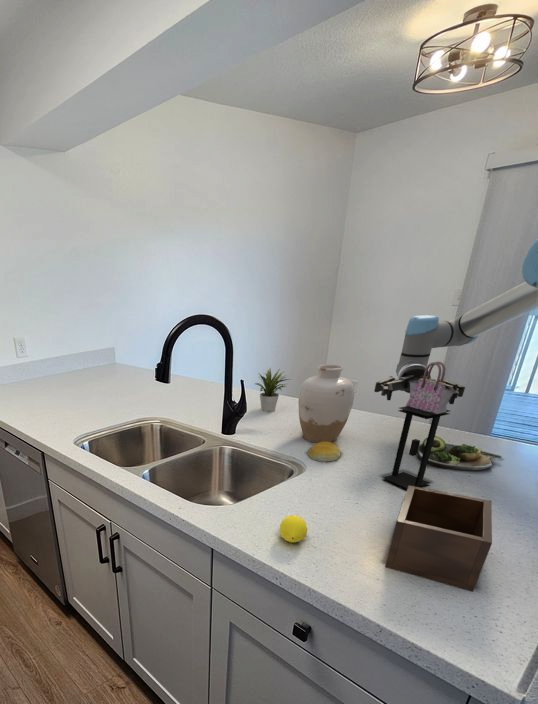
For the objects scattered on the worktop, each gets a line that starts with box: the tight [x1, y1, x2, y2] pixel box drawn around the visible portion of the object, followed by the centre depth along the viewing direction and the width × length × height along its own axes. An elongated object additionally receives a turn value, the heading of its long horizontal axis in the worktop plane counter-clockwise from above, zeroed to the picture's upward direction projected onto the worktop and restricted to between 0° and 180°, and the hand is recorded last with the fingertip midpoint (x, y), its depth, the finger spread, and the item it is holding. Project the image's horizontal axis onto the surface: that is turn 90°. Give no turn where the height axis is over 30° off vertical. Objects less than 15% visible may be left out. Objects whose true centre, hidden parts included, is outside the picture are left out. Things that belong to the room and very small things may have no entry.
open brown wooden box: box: [384, 485, 493, 592], centre depth 81 cm, size 13×16×10 cm
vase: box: [297, 363, 355, 444], centre depth 136 cm, size 16×16×23 cm
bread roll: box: [308, 442, 341, 463], centre depth 127 cm, size 8×9×4 cm
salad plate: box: [417, 435, 502, 471], centre depth 120 cm, size 19×18×5 cm
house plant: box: [254, 368, 293, 413], centre depth 166 cm, size 14×14×16 cm
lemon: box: [279, 514, 308, 543], centre depth 89 cm, size 7×5×5 cm
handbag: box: [381, 361, 454, 492], centre depth 103 cm, size 10×8×30 cm
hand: (420, 397), depth 109 cm, fingers open, 13 cm apart
